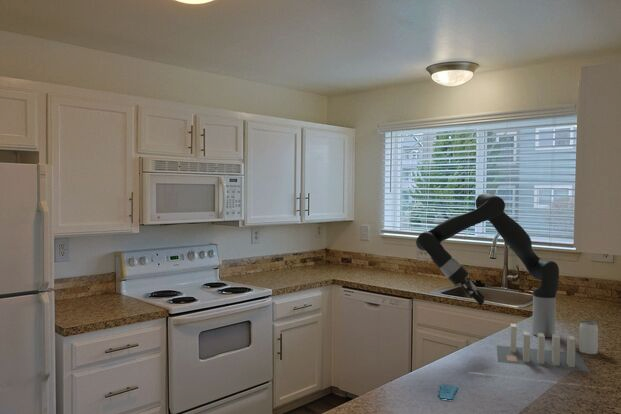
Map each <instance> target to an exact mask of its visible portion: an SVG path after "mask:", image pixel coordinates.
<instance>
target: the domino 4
mask: <svg viewBox="0 0 621 414" xmlns="http://www.w3.org/2000/svg"><path fill="white" fill-rule="evenodd" d="M551 344H552V345H551V351H552V363H553V365H559V364H560V352H561V337H560V335H559V334H556V333H555V334H552V337H551Z"/></svg>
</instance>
